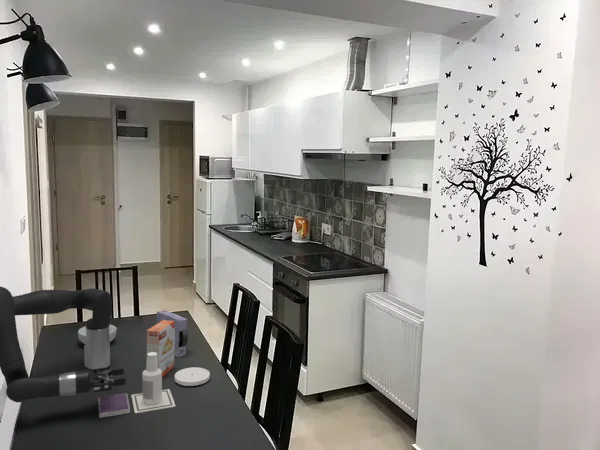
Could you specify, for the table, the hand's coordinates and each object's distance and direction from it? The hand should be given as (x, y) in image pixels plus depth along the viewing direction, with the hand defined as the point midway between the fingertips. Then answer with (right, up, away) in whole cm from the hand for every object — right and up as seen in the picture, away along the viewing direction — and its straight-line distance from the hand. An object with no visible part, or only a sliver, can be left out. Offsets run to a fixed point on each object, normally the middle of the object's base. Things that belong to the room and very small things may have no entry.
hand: (124, 376), depth 173 cm
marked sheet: (+9, -11, +5) cm, 15 cm away
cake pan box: (+3, -5, +52) cm, 52 cm away
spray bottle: (+8, -11, +5) cm, 15 cm away
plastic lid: (+19, -9, +24) cm, 32 cm away
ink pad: (-4, -11, 0) cm, 12 cm away
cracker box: (+5, -8, +29) cm, 30 cm away
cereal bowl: (-34, -3, +58) cm, 67 cm away
